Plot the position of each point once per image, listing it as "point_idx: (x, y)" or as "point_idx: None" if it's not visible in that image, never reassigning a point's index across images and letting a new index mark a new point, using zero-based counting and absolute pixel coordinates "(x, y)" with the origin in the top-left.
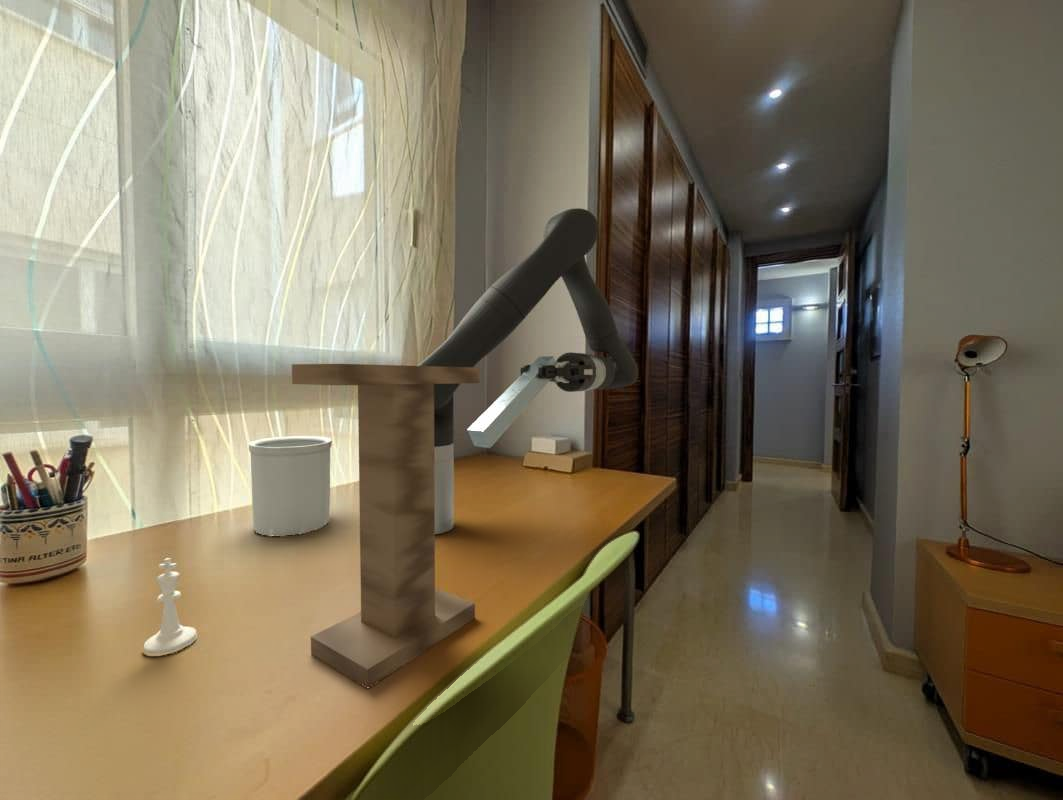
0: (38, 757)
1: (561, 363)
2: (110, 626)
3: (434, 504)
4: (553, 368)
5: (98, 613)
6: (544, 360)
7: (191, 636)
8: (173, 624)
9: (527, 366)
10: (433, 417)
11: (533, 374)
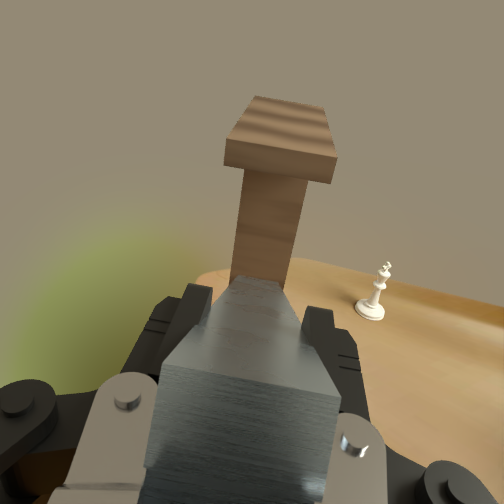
0: (310, 263)
1: (83, 484)
2: (425, 311)
3: (230, 274)
4: (136, 343)
5: (455, 317)
6: (233, 351)
7: (361, 310)
8: (369, 298)
9: (308, 324)
10: (242, 184)
11: (230, 310)
